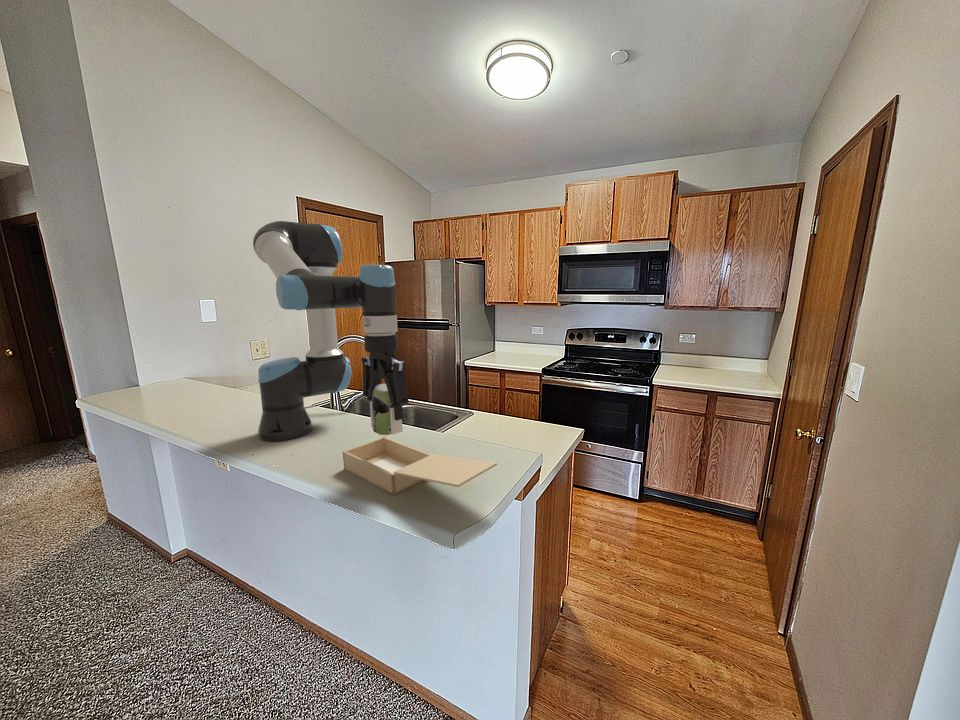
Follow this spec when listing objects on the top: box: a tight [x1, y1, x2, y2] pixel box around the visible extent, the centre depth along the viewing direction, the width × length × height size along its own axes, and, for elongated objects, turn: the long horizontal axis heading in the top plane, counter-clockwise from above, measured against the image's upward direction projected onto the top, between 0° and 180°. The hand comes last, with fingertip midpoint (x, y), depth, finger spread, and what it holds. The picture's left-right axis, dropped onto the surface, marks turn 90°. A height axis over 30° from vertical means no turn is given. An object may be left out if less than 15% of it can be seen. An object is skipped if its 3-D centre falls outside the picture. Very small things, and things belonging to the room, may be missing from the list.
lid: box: [394, 453, 498, 488], centre depth 79 cm, size 19×12×1 cm, turn 50°
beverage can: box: [372, 382, 392, 436], centre depth 90 cm, size 6×7×12 cm
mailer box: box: [342, 436, 432, 496], centre depth 92 cm, size 20×12×5 cm, turn 50°
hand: (386, 428), depth 91 cm, fingers closed on beverage can, 7 cm apart
